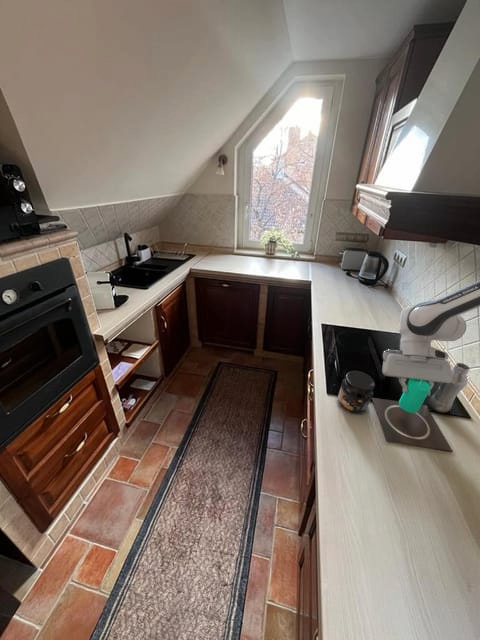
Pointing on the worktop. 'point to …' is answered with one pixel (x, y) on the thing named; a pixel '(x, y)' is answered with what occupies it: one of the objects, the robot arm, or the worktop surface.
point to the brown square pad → (409, 426)
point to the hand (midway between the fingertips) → (416, 393)
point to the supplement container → (356, 392)
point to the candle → (414, 395)
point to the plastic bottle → (449, 389)
